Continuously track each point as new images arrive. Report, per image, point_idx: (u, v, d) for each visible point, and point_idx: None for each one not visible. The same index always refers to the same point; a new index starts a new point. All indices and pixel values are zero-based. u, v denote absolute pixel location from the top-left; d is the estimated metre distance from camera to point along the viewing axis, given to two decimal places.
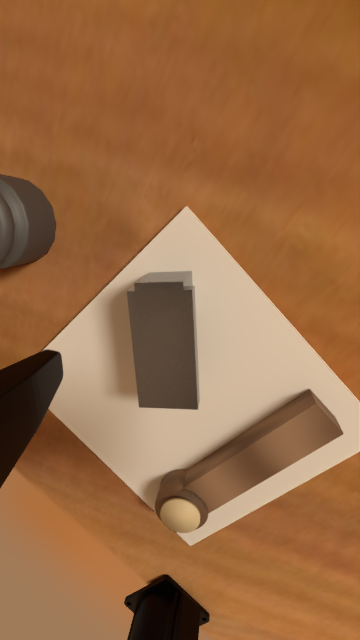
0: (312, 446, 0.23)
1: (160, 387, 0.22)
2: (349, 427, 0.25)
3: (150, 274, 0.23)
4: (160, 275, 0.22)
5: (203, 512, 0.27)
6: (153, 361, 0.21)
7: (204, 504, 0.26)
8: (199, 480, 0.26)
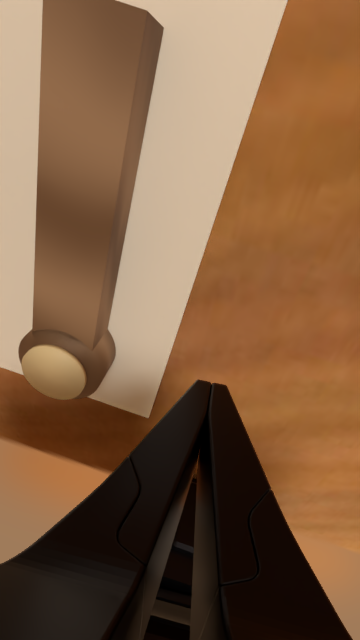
0: (120, 102, 0.10)
1: None
2: (206, 31, 0.11)
3: None
4: None
5: (85, 353, 0.16)
6: None
7: (75, 339, 0.16)
8: (37, 305, 0.15)
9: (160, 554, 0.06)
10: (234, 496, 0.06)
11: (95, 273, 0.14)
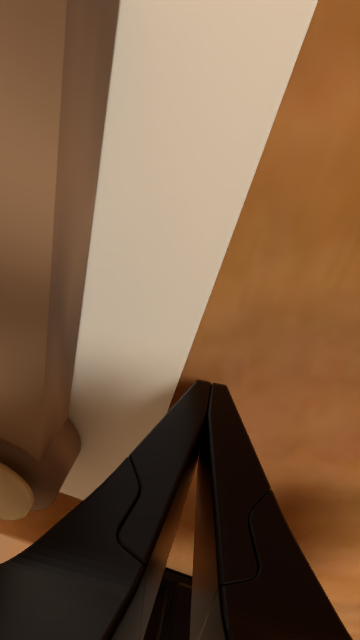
0: (38, 111, 0.06)
1: None
2: None
3: None
4: None
5: (30, 463, 0.11)
6: None
7: (14, 447, 0.11)
8: None
9: (160, 554, 0.06)
10: (235, 497, 0.06)
11: (31, 369, 0.09)
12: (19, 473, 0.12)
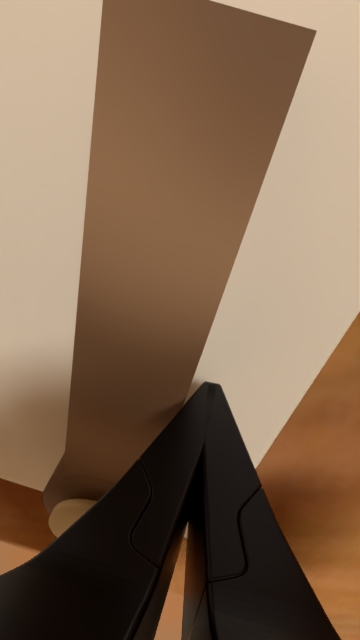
0: (235, 193, 0.06)
1: None
2: None
3: None
4: None
5: None
6: None
7: None
8: (70, 451, 0.10)
9: (171, 557, 0.06)
10: (225, 494, 0.06)
11: (162, 421, 0.09)
12: None
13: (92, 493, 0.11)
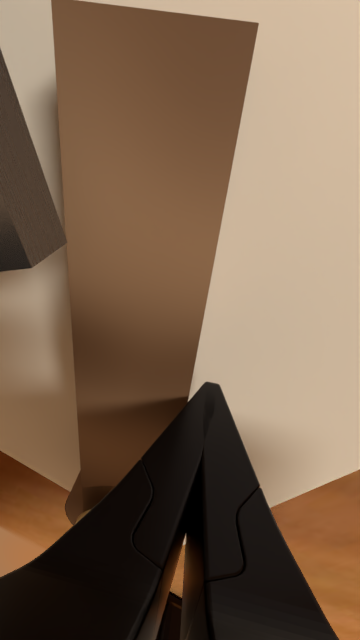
0: (205, 191, 0.06)
1: None
2: None
3: None
4: None
5: None
6: None
7: None
8: (85, 462, 0.11)
9: (173, 557, 0.06)
10: (224, 494, 0.06)
11: (169, 423, 0.09)
12: None
13: None
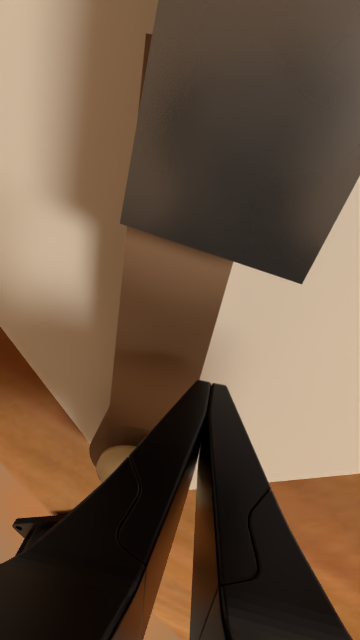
0: None
1: (216, 168, 0.06)
2: None
3: None
4: None
5: None
6: (235, 39, 0.05)
7: None
8: (114, 403, 0.13)
9: (160, 554, 0.06)
10: (235, 497, 0.06)
11: (190, 370, 0.11)
12: None
13: (132, 442, 0.14)
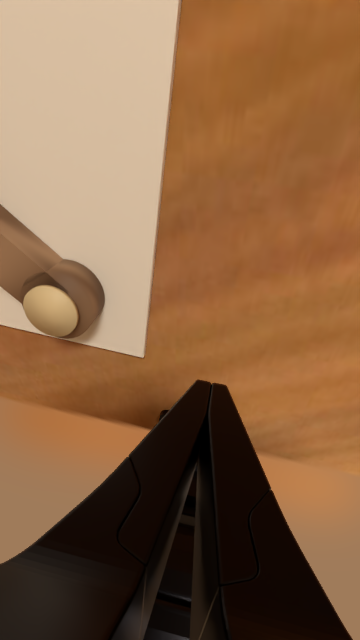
0: None
1: None
2: None
3: None
4: None
5: (46, 278, 0.19)
6: None
7: (32, 277, 0.19)
8: (0, 283, 0.19)
9: (160, 554, 0.06)
10: (234, 497, 0.06)
11: None
12: None
13: None
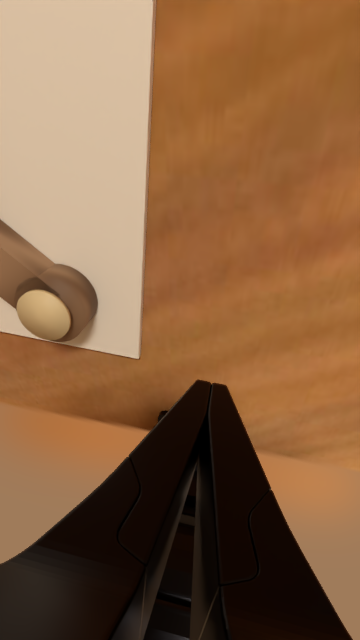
0: None
1: None
2: (102, 1, 0.14)
3: None
4: None
5: (38, 283, 0.19)
6: None
7: (25, 282, 0.19)
8: None
9: (160, 554, 0.06)
10: (235, 497, 0.06)
11: None
12: None
13: None
